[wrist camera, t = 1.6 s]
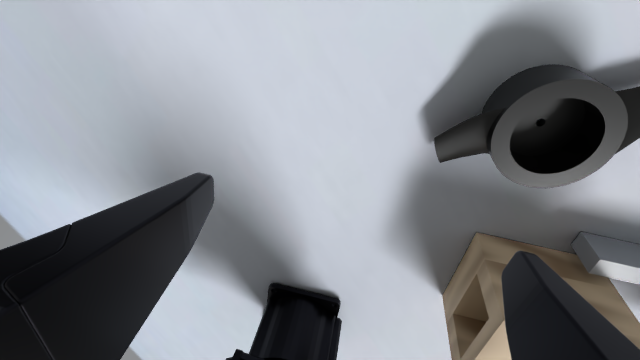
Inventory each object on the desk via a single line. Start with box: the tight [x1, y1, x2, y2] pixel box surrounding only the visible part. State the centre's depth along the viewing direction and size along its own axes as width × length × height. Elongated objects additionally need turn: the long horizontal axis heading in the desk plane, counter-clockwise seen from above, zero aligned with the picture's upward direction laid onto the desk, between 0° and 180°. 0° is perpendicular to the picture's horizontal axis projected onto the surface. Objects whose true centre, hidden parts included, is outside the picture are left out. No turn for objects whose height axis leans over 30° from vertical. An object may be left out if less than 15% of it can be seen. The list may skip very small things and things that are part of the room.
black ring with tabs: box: [434, 65, 640, 188], centre depth 18 cm, size 8×10×3 cm
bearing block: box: [442, 232, 640, 360], centre depth 22 cm, size 8×7×7 cm
